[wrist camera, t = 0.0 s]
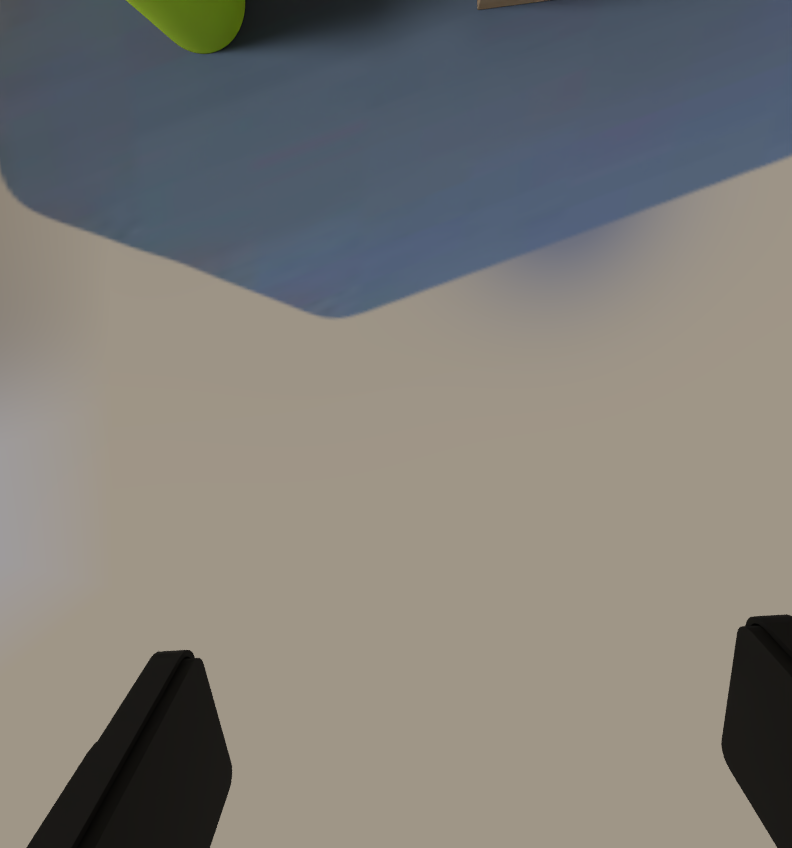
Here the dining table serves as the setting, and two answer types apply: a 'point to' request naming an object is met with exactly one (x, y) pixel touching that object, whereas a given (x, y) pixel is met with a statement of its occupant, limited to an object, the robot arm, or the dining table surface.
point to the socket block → (502, 3)
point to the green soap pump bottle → (195, 21)
